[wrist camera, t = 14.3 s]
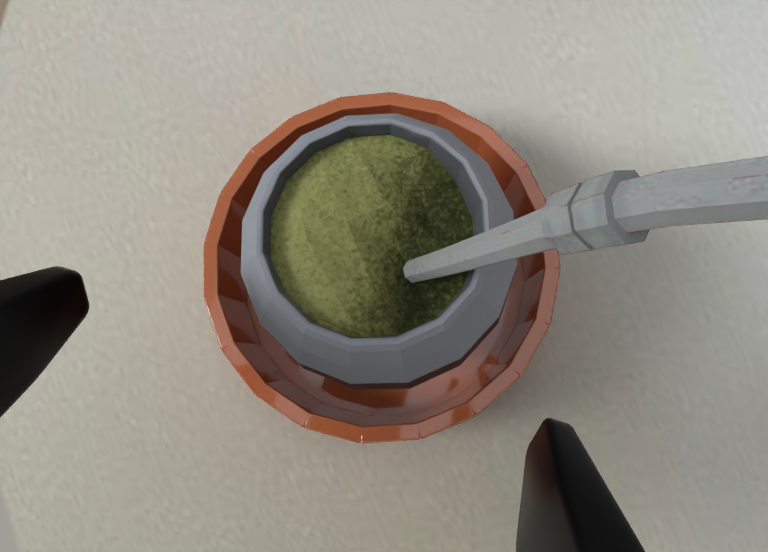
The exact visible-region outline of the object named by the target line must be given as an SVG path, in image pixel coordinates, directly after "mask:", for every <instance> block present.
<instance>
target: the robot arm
mask: <svg viewBox="0 0 768 552" xmlns="http://www.w3.org/2000/svg"><path fill="white" fill-rule="evenodd" d="M88 310H89V301H88V298H87V294H86V290H85V286H84V283H83V279H82V276H81V275H80V274H79V273H78V272H76V271H73V270H70V269H67V268H64V267H58V266H56V267H50V268H47V269H43V270H39V271H35V272H31V273H27V274H23V275H19V276H16V277H12V278H8V279H4V280H0V417H1V416H2V415H3V414H4V413H5V412H6V411H7V410H8V409H9V408H10V407H11V406H12V405H13V404H14V403H15V402H16V400H17V399H18V398H19V397H20V396H21V395H22V394H23V393H24V392H25V391H26V390H27V389H28V388H29V387H30V386H31V384H32V383H33V382H34V381H35V380H36V379H37V378H38V376H39V375H40V374H41V373H42V372H43V370H44V369H45V368H46V367H47V365H48V364H49V363H50V361H51V360H52V359H53V358H54V356H55V355H56V354H57V352H58V351H59V350H60V349H61V347H62V346H63V345H64V344H65V342H66V341H67V340H68V338H69V337H70V336H71V335H72V333H73V332H74V331H75V329H76V328H77V327H78V326H79V324H80V323H81V322H82V321H83V319H84V318H85V317H86V315H87V313H88ZM516 552H645V551H644V549H643V547H642V545H641V544H640V542H639V540H638V539H637V537H636V535H635V533H634V532H633V530H632V528H631V526H630V525H629V523H628V521H627V520H626V518H625V516H624V514H623V513H622V511H621V509H620V508H619V506H618V504H617V502H616V501H615V499H614V497H613V496H612V494H611V492H610V490H609V489H608V487H607V485H606V484H605V482H604V480H603V478H602V477H601V475H600V473H599V472H598V470H597V468H596V466H595V465H594V463H593V461H592V460H591V458H590V456H589V454H588V453H587V451H586V449H585V448H584V446H583V444H582V442H581V441H580V439H579V437H578V436H577V434H576V432H575V430H574V429H573V427H572V426H571V425H569V424H567V423H564V422H561V421H558V420H555V419H551V418H547V419H545V420H544V421H543V422H542V424H541V426H540V427H539V429H538V431H537V432H536V434H535V436H534V438H533V439H532V441H531V443H530V444H529V447H528V450H527V453H526V459H525V468H524V477H523V486H522V494H521V503H520V512H519V521H518V530H517V541H516Z"/></svg>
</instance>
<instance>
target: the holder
mask: <svg viewBox="0 0 768 552" xmlns="http://www.w3.org/2000/svg"><path fill="white" fill-rule="evenodd" d="M393 113H397V114H401V115H404V116H407V117H411V118H414V119H417V120H420V121H423V122H426V123H429V124H432V125H435V126H438V127H441V128H445V129H448V130H449V131H450V132H451V133H452V134H454V135H455V136H456V137H457V138H459V139H460V140H461V141H462V142H463V143H465V144H466V145H467V146H468V147H469V148H471V149H472V150H473V151H474V152H475V153H477V154H478V155H479V156H480V157H481V158H483V159H484V160H485V161H486V162H487V163H488V164H489V166H490V168H491V170H492V172H493V174H494V176H495V178H496V180H497V181H498V183H499V185H500V187H501V189H502V191H503V193H504V195H505V197H506V199H507V200H508V202H509V204H510V206H511V208H512V210H513V217H514V220H515V219H517V218H520V217H522V216H524V215H527V214H529V213H532V212H534V211H536V210H539V209H541V208H543V207H544V205H545V204H546V200H545V198H544V196H543V194H542V192H541V190H540V188H539V186H538V184H537V182H536V180H535V178H534V176H533V174H532V172H531V170H530V168H529V166H527V163H526V162H525V161H524V160H523V159H522V158H521V157H520V156H519V155H518V154H517V153H516V152H515V151H514V150H513V149H512V148H511V147H510V146H509V145H508V144H507V143H506V142H505V141H504V140H503V139H502V138H501V137H500V136H499V135H498V134H497V133H496V132H495V131H494V130H493V129H492V128H491V127H489V126H488V125H486V124H484V123H482V122H480V121H478V120H477V119H475V118H473V117H471V116H469V115H467V114H465V113H463V112H461V111H459V110H458V109H456V108H454V107H452V106H450V105H448V104H446V103H443V102H440V101H435V100H430V99H424V98H419V97H414V96H409V95H403V94H398V93H391V92H388V93H378V94H368V95H358V96H348V97H340V98H337V99H334V100H332V101H329V102H327V103H325V104H322V105H320V106H317V107H315V108H312V109H310V110H307V111H305V112H302V113H300V114H297V115H295V116H293V117H292V118H289V119H288V120H287V121H286V122H284V123H283V124H282V125H281V126H279V127H278V128H277V129H276V130H274V131H273V132H272V133H271V134H269V135H268V136H267V137H266V138H264V139H263V140H262V141H261V142H259V143H258V144H257V145H255V146H254V147H253V148H252V149H251V151H249V152H248V153H247V155H246V156H245V158H244V159H243V161H242V162H241V164H240V165H239V166H238V168H237V169H236V171H235V172H234V174H233V175H232V177H231V178H230V179H229V181H228V182H227V184H226V185H225V187H224V188H223V190H222V191H221V194H220V195H219V198H218V201H217V204H216V207H215V210H214V213H213V217H212V220H211V223H210V226H209V229H208V232H207V236H206V239H205V242H204V244H205V245H204V297H205V303H206V306H207V309H208V312H209V315H210V318H211V321H212V324H213V327H214V330H215V333H216V336H217V339H218V342H219V345H220V348H221V349H222V352H223V353H224V355H225V356H226V357H227V359H228V360H229V361H230V362H231V364H232V365H233V366H234V368H235V369H236V370H237V372H238V373H239V374H240V376H241V377H242V378H243V380H244V381H245V382H246V384H247V385H248V386H249V388H250V389H251V390H252V392H253V393H254V394H255V395H256V396H257V397H258V398H260V399H261V400H263V401H264V402H266V403H267V404H269V405H270V406H272V407H273V408H275V409H276V410H278V411H279V412H281V413H282V414H284V415H285V416H287V417H288V418H290V419H291V420H292V421H294V422H295V423H297V424H298V425H300V426H301V427H304V428H305V429H309V430H313V431H317V432H320V433H324V434H328V435H331V436H335V437H339V438H343V439H346V440H350V441H354V442H357V443H360V442H361V443H374V442H389V441H404V440H419V439H420V438H421V439H423V438H425V437H428V436H430V435H432V434H435V433H437V432H440V431H442V430H444V429H447V428H449V427H452V426H454V425H456V424H459V423H461V422H464V421H466V420H468V419H471V418H473V417H475V416H476V415H478V414H479V413H481V412H482V411H483V410H484V409H485V408H486V407H487V406H488V405H490V404H491V403H492V402H493V401H494V400H495V399H496V398H497V397H499V396H500V395H501V394H502V393H503V392H504V391H505V390H506V389H508V388H509V387H510V386H511V385H512V384H513V383H514V382H515V381H517V380H518V379H519V378H520V375H522V374H523V372H524V371H525V369H526V367H527V365H528V364H529V362H530V360H531V358H532V356H533V355H534V353H535V351H536V349H537V348H538V346H539V344H540V342H541V340H542V339H543V337H544V335H545V333H546V332H547V330H548V328H549V325H550V324H551V318H552V313H553V308H554V302H555V297H556V291H557V286H558V281H559V275H560V261H559V255H558V251H557V250H556V249H552V250H548V251H544V252H540V253H536V254H532V255H528V256H524V257H520V258H517V266H516V269H515V275H514V278H513V281H512V284H511V287H510V290H509V293H508V296H507V299H506V302H505V305H504V308H503V311H502V314H501V317H500V320H499V323H498V324H497V326H496V327H495V328H494V329H493V330H492V331H491V332H490V333H489V334H488V335H487V337H486V338H485V339H484V340H483V341H482V342H481V343H480V344H479V345H478V346H477V348H476V349H475V350H474V351H473V352H472V353H471V354H470V355H469V356H468V358H467V359H466V360H465V361H464V362H463V363H462V364H461V365H460V366H458V367H456V368H454V369H452V370H450V371H447V372H445V373H443V374H441V375H439V376H437V377H435V378H432V379H430V380H428V381H426V382H424V383H422V384H420V385H417V386H415V387H413V388H411V389H359V390H357V389H353V388H351V387H348V386H346V385H343V384H341V383H338V382H336V381H333V380H331V379H328V378H326V377H323V376H321V375H318V374H316V373H313V372H311V371H309V370H306V369H304V368H303V367H302V366H301V365H300V364H299V363H298V362H297V361H296V360H295V359H294V358H293V357H292V356H291V355H290V354H289V353H288V352H287V351H286V350H285V349H284V348H283V347H282V346H281V345H280V344H279V343H278V342H277V341H276V340H275V339H274V338H273V337H272V336H271V335H270V334H269V333H268V332H267V331H266V329H265V328H264V327H263V326H262V325H261V324H260V322H259V319H258V317H257V314H256V312H255V309H254V307H253V304H252V301H251V299H250V296H249V294H248V291H247V289H246V286H245V283H244V281H243V278H242V276H241V246H242V220H243V218H244V216H245V213H246V211H247V209H248V207H249V204H250V202H251V200H252V198H253V195H254V193H255V191H256V189H257V186H258V184H259V182H260V180H261V177H262V175H263V173H264V172H265V171H266V170H267V169H268V168H269V167H270V166H271V165H272V164H273V163H274V162H275V161H276V160H277V159H278V158H279V157H280V156H281V155H282V154H283V153H284V152H285V151H286V150H287V149H288V148H289V147H290V146H291V145H292V144H293V143H294V142H295V141H296V140H297V139H298V138H299V137H300V136H302V135H304V134H306V133H308V132H311V131H313V130H315V129H317V128H320V127H322V126H324V125H327V124H329V123H331V122H333V121H336V120H338V119H340V118H342V117H345V116H349V115H371V114H393Z"/></svg>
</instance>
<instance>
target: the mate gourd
mask: <svg viewBox="0 0 768 552" xmlns="http://www.w3.org/2000/svg"><path fill="white" fill-rule="evenodd" d="M764 219H768V156H764V157H757V158H750V159H743V160H737V161H730V162H723V163H716V164H709V165H702V166H695V167H688V168H682V169H675V170H668V171H662V172H658V173H654V174H649V175H645V176H641V177H640V176H639V175H638V174H637V172H636V171H635V170H625V171H613V172H610V173H607V174H604V175H601V176H597V177H594V178H591V179H588V180H585V181H584V182H583V183H578V184H575V185H572V186H570V187H567V188H565V189H562V190H560V191H557V192H554V193H552V194H551V195H550V197H549V199H548V200H547V202H546V204H545V205H544V207H543V208H541V209H539V210H536V211H534V212H532V213H529V214H527V215H524V216H522V217H520V218H517V219H515V220H514V217H513V210H512V208H511V206H510V204H509V202H508V200H507V199H506V197H505V195H504V193H503V191H502V189H501V187H500V185H499V183H498V181H497V180H496V178H495V176H494V174H493V172H492V170H491V168H490V166H489V164H488V163H487V162H486V161H485V160H484V159H483V158H481V157H480V156H479V155H478V154H477V153H475V152H474V151H473V150H472V149H471V148H469V147H468V146H467V145H466V144H465V143H463V142H462V141H461V140H460V139H459V138H457V137H456V136H455V135H454V134H452V133H451V132H450V131H449V130H448V129H445V128H441V127H438V126H435V125H432V124H429V123H426V122H423V121H420V120H417V119H414V118H411V117H407V116H404V115H401V114H397V113H393V114H371V115H349V116H345V117H342V118H340V119H338V120H336V121H333V122H331V123H329V124H327V125H324V126H322V127H320V128H317V129H315V130H313V131H311V132H308V133H306V134H304V135H302V136H300V137H299V138H298V139H297V140H296V141H295V142H294V143H293V144H292V145H291V146H290V147H289V148H288V149H287V150H286V151H285V152H284V153H283V154H282V155H281V156H280V157H279V158H278V159H277V160H276V161H275V162H274V163H273V164H272V165H271V166H270V167H269V168H268V169H267V170H266V171H265V172H264V173H263V175H262V177H261V180H260V182H259V184H258V186H257V189H256V191H255V193H254V195H253V198H252V200H251V202H250V204H249V207H248V209H247V211H246V213H245V216H244V218H243V220H242V246H241V276H242V278H243V281H244V283H245V286H246V289H247V291H248V294H249V296H250V299H251V301H252V304H253V307H254V309H255V312H256V314H257V317H258V319H259V322H260V324H261V325H262V326H263V327H264V328H265V329H266V331H267V332H268V333H269V334H270V335H271V336H272V337H273V338H274V339H275V340H276V341H277V342H278V343H279V344H280V345H281V346H282V347H283V348H284V349H285V350H286V351H287V352H288V353H289V354H290V355H291V356H292V357H293V358H294V359H295V360H296V361H297V362H298V363H299V364H300V365H301V366H302V367H303V368H304V369H306V370H309V371H311V372H313V373H316V374H318V375H321V376H323V377H326V378H328V379H331V380H333V381H336V382H338V383H341V384H343V385H346V386H348V387H351V388H353V389H357V390H359V389H411V388H413V387H415V386H417V385H420V384H422V383H424V382H426V381H428V380H430V379H432V378H435V377H437V376H439V375H441V374H443V373H445V372H447V371H450V370H452V369H454V368H456V367H458V366H460V365H461V364H462V363H463V362H464V361H465V360H466V359H467V358H468V356H469V355H470V354H471V353H472V352H473V351H474V350H475V349H476V348H477V346H478V345H479V344H480V343H481V342H482V341H483V340H484V339H485V338H486V337H487V335H488V334H489V333H490V332H491V331H492V330H493V329H494V328H495V327H496V326H497V324H498V323H499V320H500V317H501V314H502V311H503V308H504V305H505V302H506V299H507V296H508V293H509V290H510V287H511V284H512V281H513V278H514V275H515V269H516V266H517V258H520V257H524V256H528V255H532V254H536V253H540V252H544V251H548V250H552V249H556V250H557V251H559V252H560V253H561V254H562V255H564V254H570V253H577V252H583V251H589V250H595V249H601V248H606V247H613V246H619V245H625V244H631V243H637V242H643V241H645V238H646V236H647V234H648V232H649V230H650V229H655V228H662V227H669V226H680V225H694V224H708V223H722V222H736V221H750V220H764Z"/></svg>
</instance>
